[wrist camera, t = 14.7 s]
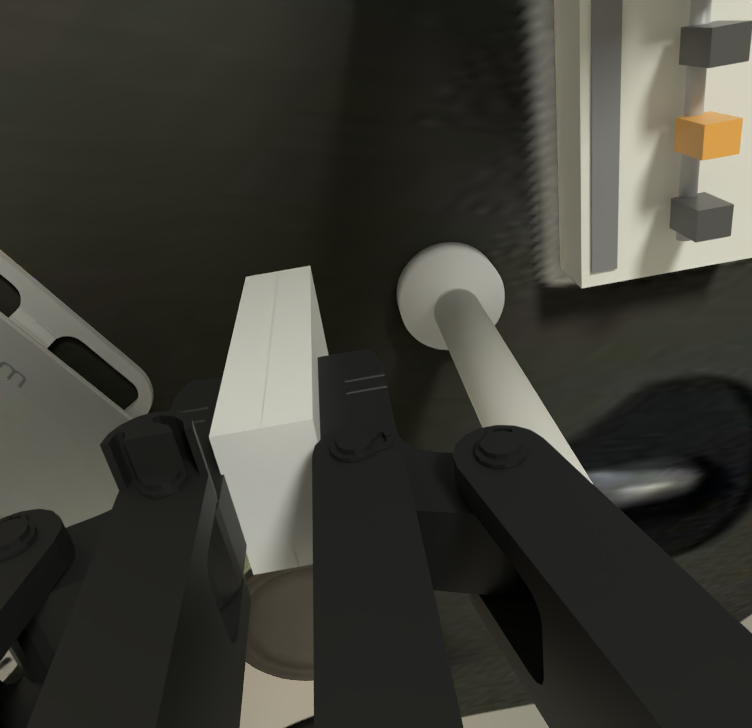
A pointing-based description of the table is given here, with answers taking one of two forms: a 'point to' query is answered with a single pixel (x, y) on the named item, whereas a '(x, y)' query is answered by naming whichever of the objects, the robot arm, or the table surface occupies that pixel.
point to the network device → (55, 412)
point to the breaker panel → (639, 139)
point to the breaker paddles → (705, 122)
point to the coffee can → (281, 622)
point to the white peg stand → (473, 336)
